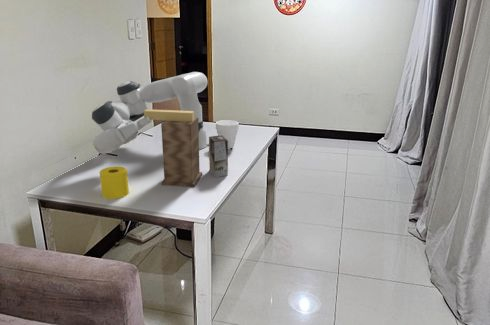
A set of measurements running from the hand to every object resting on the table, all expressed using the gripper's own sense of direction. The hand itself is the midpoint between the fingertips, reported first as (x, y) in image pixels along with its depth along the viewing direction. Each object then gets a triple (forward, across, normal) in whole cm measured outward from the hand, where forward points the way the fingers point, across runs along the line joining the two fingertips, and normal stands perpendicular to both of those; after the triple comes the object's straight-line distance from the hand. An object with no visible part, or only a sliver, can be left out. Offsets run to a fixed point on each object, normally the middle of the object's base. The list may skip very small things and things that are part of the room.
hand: (153, 115), depth 164 cm
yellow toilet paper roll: (-23, +18, -18) cm, 35 cm away
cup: (+5, -49, -35) cm, 61 cm away
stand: (-4, 0, -29) cm, 29 cm away
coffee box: (+8, -11, -36) cm, 38 cm away
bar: (+5, 0, -4) cm, 7 cm away
